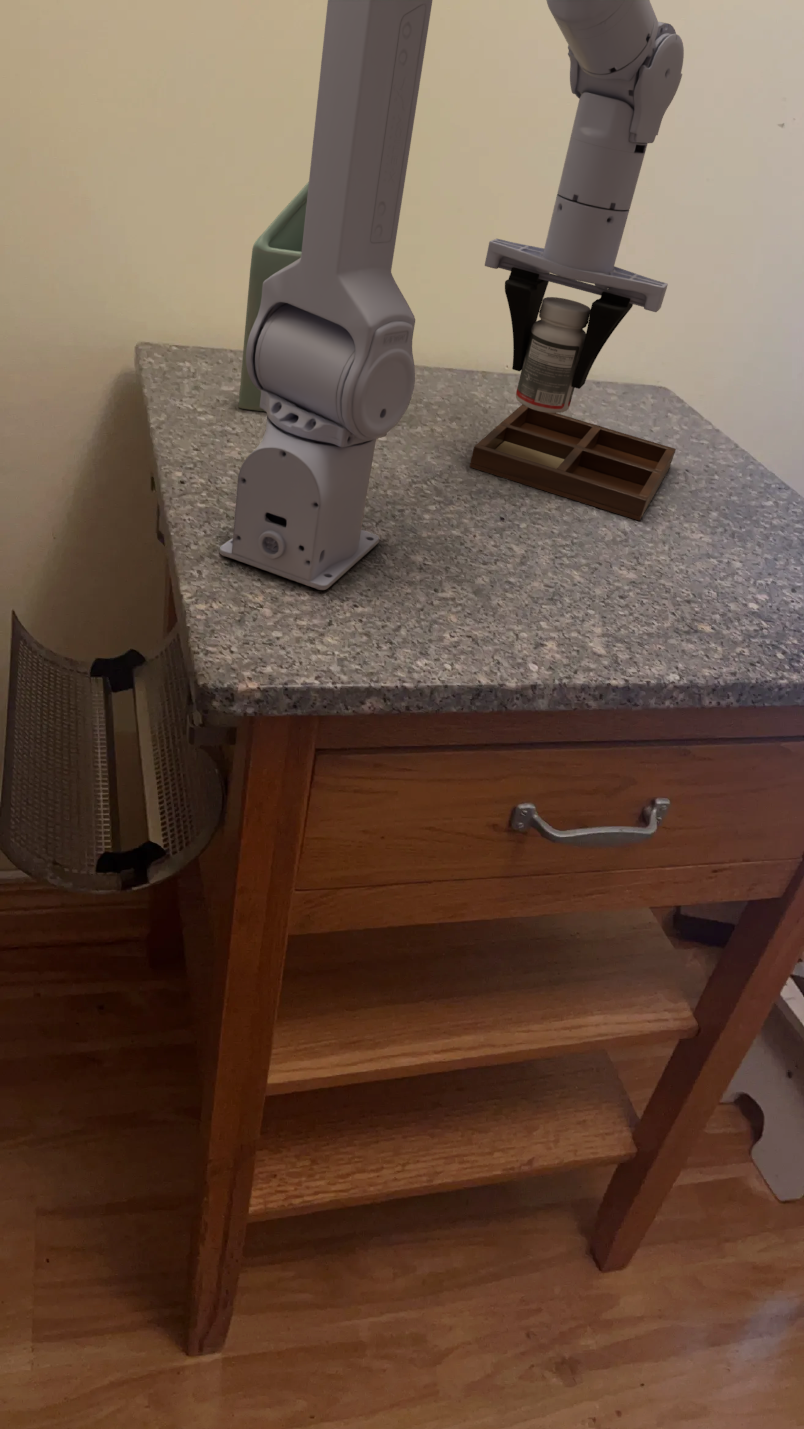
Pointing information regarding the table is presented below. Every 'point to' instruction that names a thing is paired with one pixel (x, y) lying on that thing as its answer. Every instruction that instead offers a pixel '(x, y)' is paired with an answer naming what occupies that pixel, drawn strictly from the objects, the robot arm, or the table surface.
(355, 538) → the robot arm
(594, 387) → the table surface
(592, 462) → the tray
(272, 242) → the green tall open box
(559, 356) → the pill bottle
